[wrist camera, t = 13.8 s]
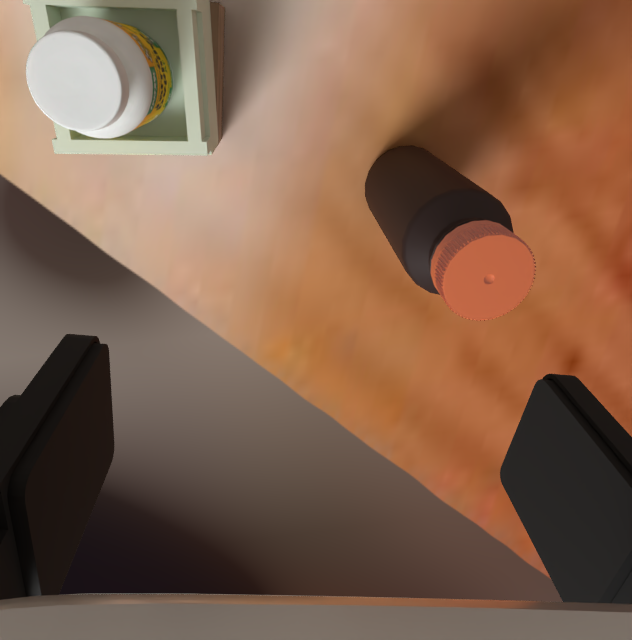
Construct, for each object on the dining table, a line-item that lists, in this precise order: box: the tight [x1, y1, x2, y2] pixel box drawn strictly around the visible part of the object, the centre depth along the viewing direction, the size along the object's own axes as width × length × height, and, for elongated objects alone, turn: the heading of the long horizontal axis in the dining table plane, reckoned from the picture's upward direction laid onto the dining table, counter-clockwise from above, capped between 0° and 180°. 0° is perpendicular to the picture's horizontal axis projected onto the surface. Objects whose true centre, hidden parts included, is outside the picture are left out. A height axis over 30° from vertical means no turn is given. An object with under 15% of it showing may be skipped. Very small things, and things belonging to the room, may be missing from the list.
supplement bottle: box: [26, 16, 174, 138], centre depth 26 cm, size 5×5×10 cm
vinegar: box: [365, 146, 536, 321], centre depth 35 cm, size 7×7×20 cm
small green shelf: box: [23, 0, 218, 156], centre depth 32 cm, size 9×9×6 cm
